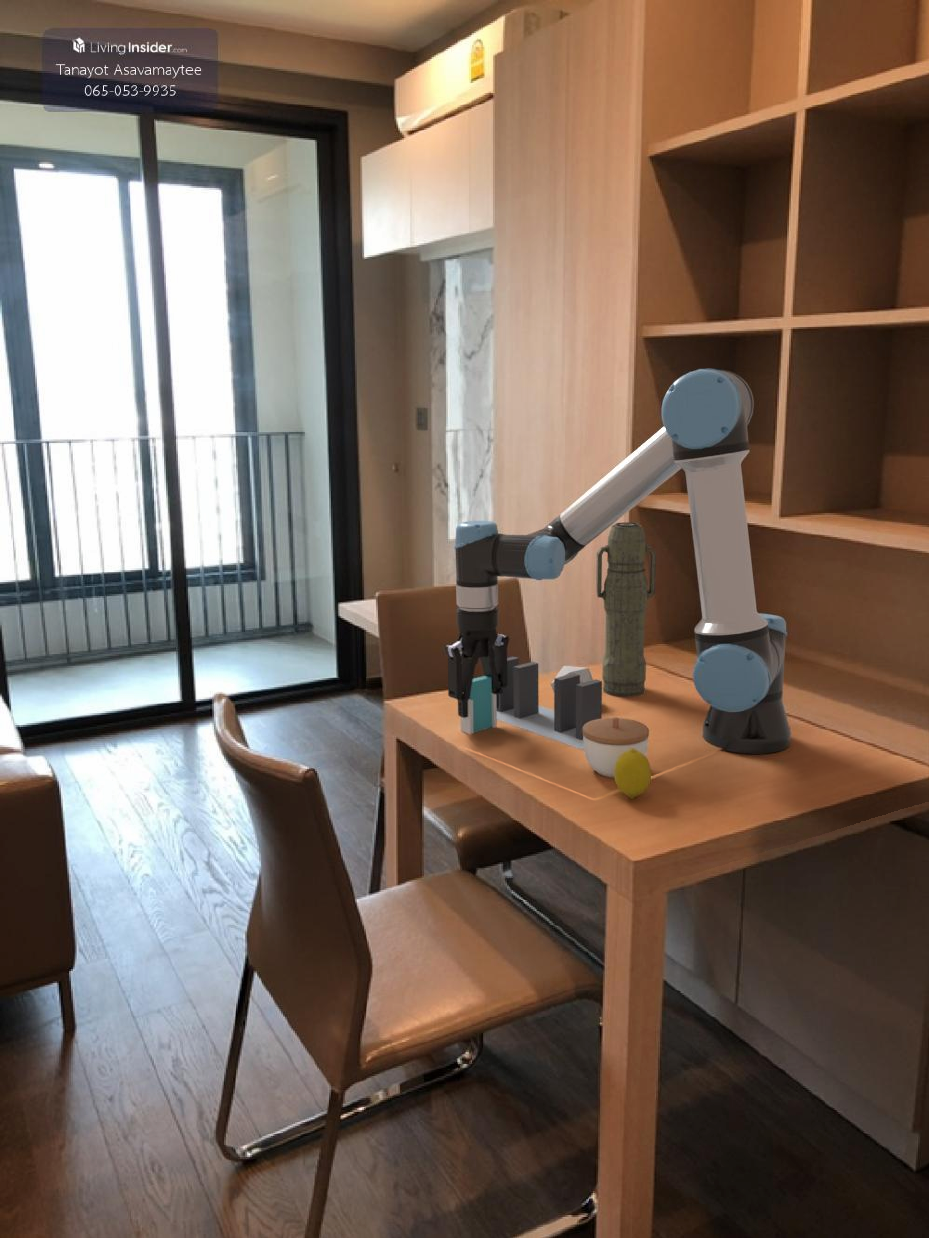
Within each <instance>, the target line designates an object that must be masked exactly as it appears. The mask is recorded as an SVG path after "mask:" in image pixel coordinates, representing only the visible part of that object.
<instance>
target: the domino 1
mask: <svg viewBox="0 0 929 1238" xmlns="http://www.w3.org/2000/svg"><path fill="white" fill-rule="evenodd" d="M518 665H520V657H517V656H516V657H515V656H509V657H507V678H508V685H507V687H505V688H504V687H503V688H502V689H503V692H502V693H501V694H499V707H498V708H497V711H499V712H503V711H506V710H510V709H513V708H514V670H513V667H514V666H518Z"/></svg>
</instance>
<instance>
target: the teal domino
mask: <svg viewBox="0 0 929 1238" xmlns="http://www.w3.org/2000/svg"><path fill="white" fill-rule="evenodd" d="M469 699H471V700H473V733H476V732H479V731H483V730H487V729H490V728H493V727H492V677H489V676H484V675H483V676H480V677H479V676H478V677H473V681H472V686H471V692H470V697H469Z"/></svg>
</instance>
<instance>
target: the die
mask: <svg viewBox="0 0 929 1238" xmlns="http://www.w3.org/2000/svg"><path fill="white" fill-rule="evenodd" d="M573 673H575V674H578V675H580V683H584V682H588V681H591V680H594V678H593V677H592V674H591V672H590V668H589V667H584V666H583V667H582V666H572V665H563V666H562V667H561V669H560V670H559V671H558V673H557V675H556V676H555V677H554V678H558V677H561V676H565V675H569V674H573ZM550 686H551V689H552V692H554V679H553V680H552V681H551V682H550Z"/></svg>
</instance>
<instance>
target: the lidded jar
mask: <svg viewBox="0 0 929 1238" xmlns="http://www.w3.org/2000/svg"><path fill="white" fill-rule="evenodd" d="M582 732H583V745H584V749H583V751H584V752H583V753H584V755H585V759H586V761H587V763H588V764H589V766H590V767H591V768H592V769H593V770H594V771H595V772H597V773H598V774H599V775H601V776H604V777H606V778H607V777H608V778H615V776H614V771H615V765H616V762H617V760H618V758H619V756H620V755H622V754H623V753H624V752H626V751H630V750H631V749H635V750H636V751H639V752H641V753H642V754H644V755H645V756H647V751H648V747H649V746H648V745H649V743H648V742H649V737H650V730H649V727H648V726H647V725H646V724H645V723H643V722H640V721H637V720H634V719H629V718H622V717H602V719H596V720H592V721H589V722H587V723H586V724H585V725H584V726H583V728H582Z"/></svg>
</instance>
